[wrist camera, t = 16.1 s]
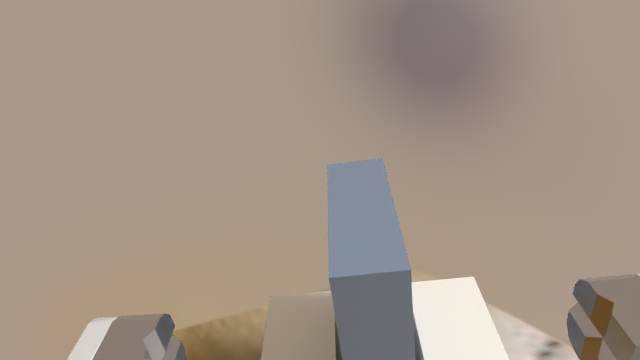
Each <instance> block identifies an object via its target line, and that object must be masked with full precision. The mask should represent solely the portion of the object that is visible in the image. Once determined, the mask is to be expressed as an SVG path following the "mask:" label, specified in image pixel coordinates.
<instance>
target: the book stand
mask: <svg viewBox="0 0 640 360" xmlns="http://www.w3.org/2000/svg"><path fill="white" fill-rule="evenodd" d="M412 303H413V323H414V343H415V360H509V358H508V356H507V353H506V351H505V349H504V346H503V344H502V342H501V339H500V337H499V335H498V332H497V330H496V328H495V325H494V323H493V321H492V318H491V316H490V314H489V311H488V309H487V307H486V304H485V302H484V300H483V297H482V295H481V293H480V290H479V288H478V286H477V283H476V281H475V279H474V277H465V278H455V279H444V280H434V281H423V282H413V283H412ZM261 360H343V358H342V352H341V346H340V340H339V334H338V328H337V323H336V317H335V311H334V305H333V299H332V293H331V290H330V291H320V292H310V293H300V294H291V295H290V294H289V295H279V296H270V301H269V307H268V314H267V321H266V327H265V334H264V341H263V347H262V354H261Z"/></svg>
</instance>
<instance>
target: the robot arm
mask: <svg viewBox="0 0 640 360" xmlns="http://www.w3.org/2000/svg"><path fill="white" fill-rule="evenodd" d="M573 295H574V296H575V298H576V299H577V301H578V303H577V304H576V305H574V306H573V307H572V308H571V309H570V310H569V313H568V319H567V328H568V335H569V339H570V341H571V344H572V347H573V349H574V350H575V352H576V354H577V356H578V358H579V359H580V360H640V274H634V275H620V276H609V277H598V278H587V279H580V280H579V281H578V282H577V283H576V284H575V287H574V291H573ZM174 327H175V325H174V323H173V321H172V318H171V316H170V315H169V314H153V315H132V316H119V317H105V318H95V319H94V320H92V321H91V322H90V323H88V325H87V327H86V328H85V330H84V332H83V333H82V335H81V337H80V338H79V340H78V342H77V343H76V345H75V347H74V349H73V351H72V352H71V354H70V355H69V357H68V359H67V360H186V357H185V350H184V347H183V344H182V342H181V340H179V339H178V338H177V337H175V336H174V335H172V333H173V330H174Z"/></svg>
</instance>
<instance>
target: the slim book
mask: <svg viewBox="0 0 640 360" xmlns="http://www.w3.org/2000/svg"><path fill="white" fill-rule="evenodd" d="M327 170H328V240H329V241H328V242H329V245H328V246H329V281H330V287H331V293H332V299H333V305H334V311H335V317H336V323H337V328H338V334H339V340H340V346H341V352H342V358H343V360H415V343H414V323H413V303H412V283H411V268H410V264H409V261H408V257H407V253H406V249H405V245H404V241H403V237H402V233H401V230H400V225H399V221H398V217H397V213H396V210H395V206H394V202H393V198H392V194H391V190H390V186H389V182H388V179H387V175H386V170H385V166H384V163H383V159H382V158H381V159H373V160H365V161H356V162H348V163H339V164H331V165H327Z"/></svg>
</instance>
